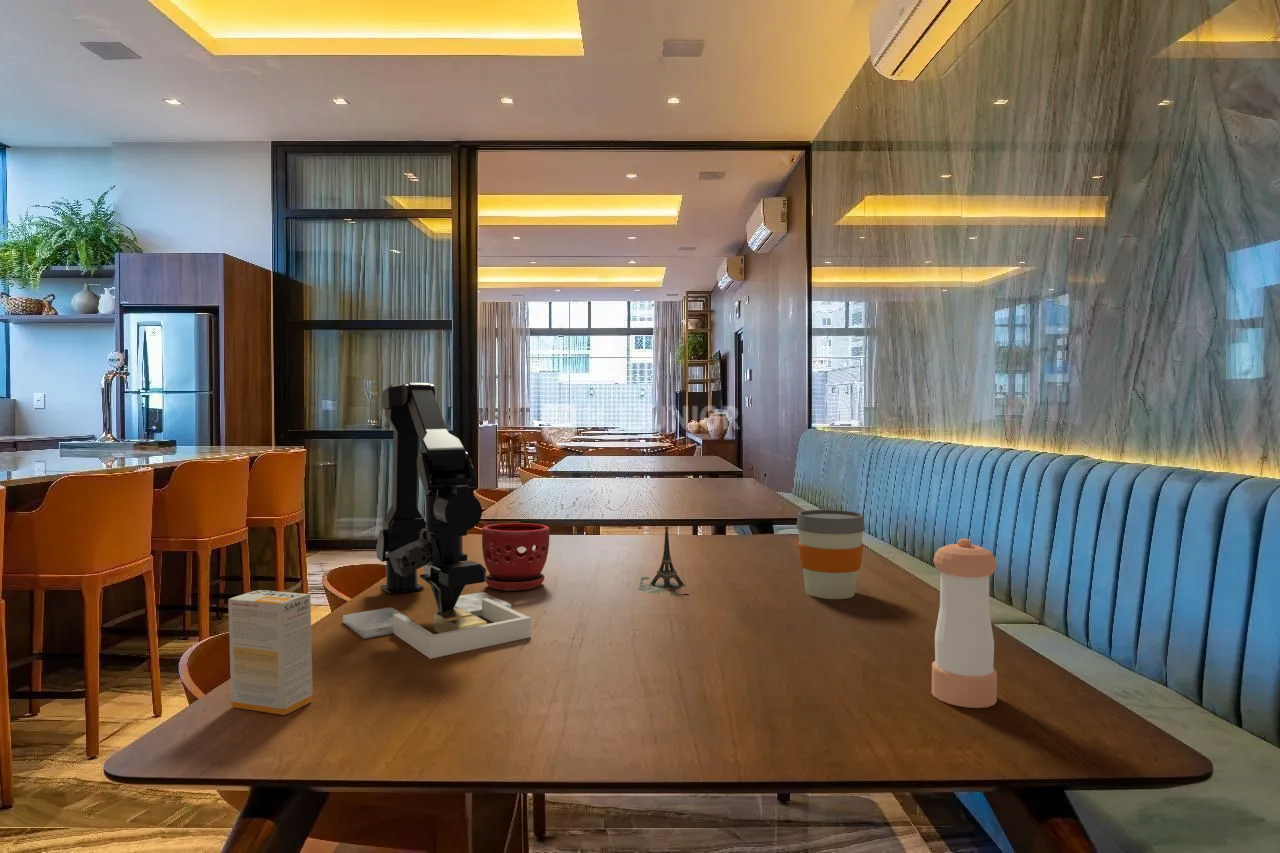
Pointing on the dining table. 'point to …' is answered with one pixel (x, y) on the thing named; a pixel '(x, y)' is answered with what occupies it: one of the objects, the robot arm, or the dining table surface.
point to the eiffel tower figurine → (663, 574)
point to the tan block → (447, 618)
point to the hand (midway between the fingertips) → (445, 619)
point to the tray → (466, 632)
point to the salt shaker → (964, 627)
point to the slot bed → (382, 619)
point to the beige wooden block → (464, 623)
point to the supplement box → (270, 651)
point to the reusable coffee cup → (830, 551)
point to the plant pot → (515, 555)
